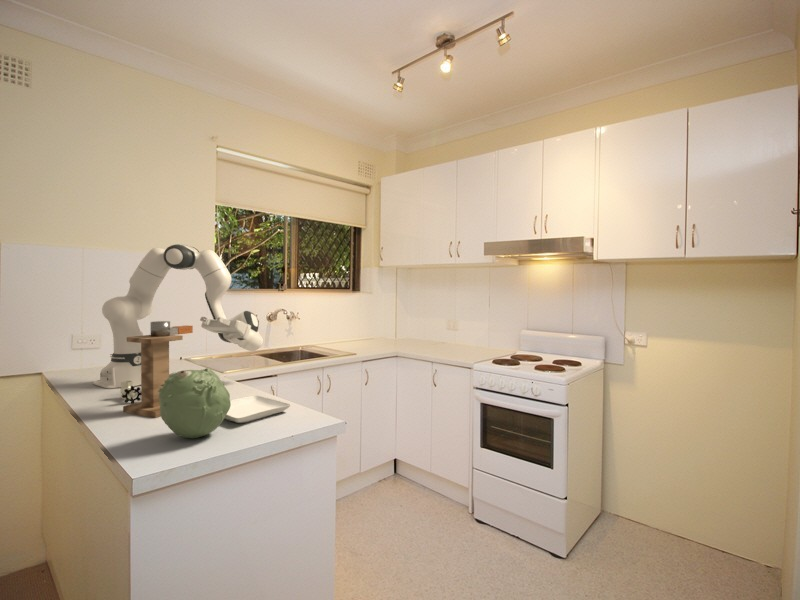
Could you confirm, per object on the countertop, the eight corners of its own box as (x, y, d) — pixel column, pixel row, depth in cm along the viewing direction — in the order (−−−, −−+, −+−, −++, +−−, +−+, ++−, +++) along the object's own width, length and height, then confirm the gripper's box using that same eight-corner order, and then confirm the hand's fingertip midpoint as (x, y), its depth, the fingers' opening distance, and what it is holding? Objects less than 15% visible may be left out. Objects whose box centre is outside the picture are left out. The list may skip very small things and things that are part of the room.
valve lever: (146, 336, 143) (146, 322, 143) (183, 332, 157) (183, 319, 157) (158, 337, 141) (158, 322, 141) (195, 333, 155) (195, 319, 154)
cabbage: (238, 436, 119) (238, 368, 118) (165, 453, 106) (165, 377, 106) (220, 422, 131) (220, 360, 130) (153, 436, 118) (152, 367, 118)
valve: (115, 399, 157) (122, 405, 149) (115, 382, 157) (122, 387, 149) (135, 396, 162) (143, 402, 153) (135, 379, 162) (142, 384, 153)
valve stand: (123, 411, 141) (122, 336, 140) (155, 403, 152) (155, 333, 151) (155, 417, 135) (155, 339, 134) (186, 408, 146) (186, 335, 145)
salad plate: (255, 402, 155) (255, 393, 155) (292, 412, 143) (292, 403, 143) (201, 416, 138) (201, 406, 138) (237, 429, 126) (237, 418, 126)
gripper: (218, 324, 182) (194, 311, 170) (254, 325, 173) (231, 311, 162) (213, 337, 179) (188, 325, 168) (249, 339, 171) (225, 326, 159)
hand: (210, 318), depth 165 cm, fingers open, 8 cm apart
